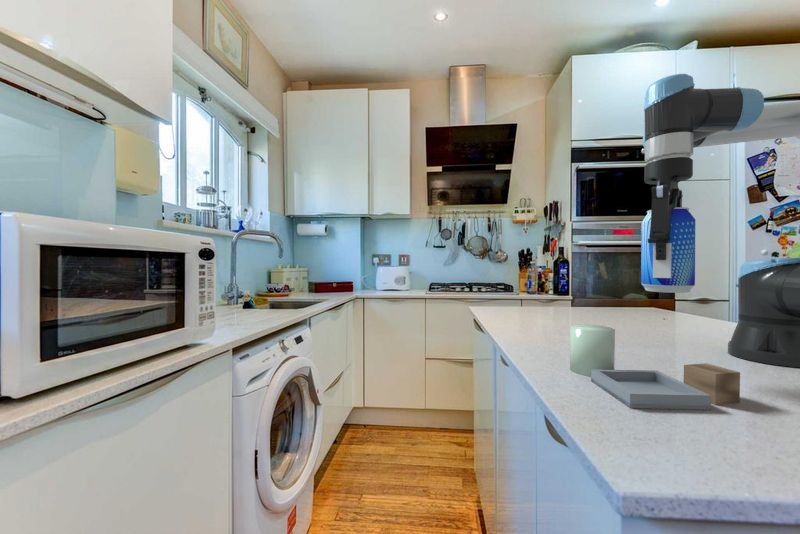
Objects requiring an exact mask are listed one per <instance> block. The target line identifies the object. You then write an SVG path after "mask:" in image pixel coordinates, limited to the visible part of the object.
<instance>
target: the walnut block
mask: <svg viewBox="0 0 800 534" xmlns="http://www.w3.org/2000/svg"><path fill="white" fill-rule="evenodd" d="M683 383H685V384H687V385H689V386H691V387H694V388H696V389H698V390H700V391H702V392H705V393H707V394H709V395H711V405H714V406H720V405H729V404H730V405H731V404H739V403H740V399H741V398H740V396H741V395H740V393H741V392H740V389H741V372H740V371H737V370H733V369H730V368H729V369H728V368H727V367H722V366H718V365H715V364H712V363H708V362H705V363H692V364H684V365H683Z"/></svg>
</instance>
